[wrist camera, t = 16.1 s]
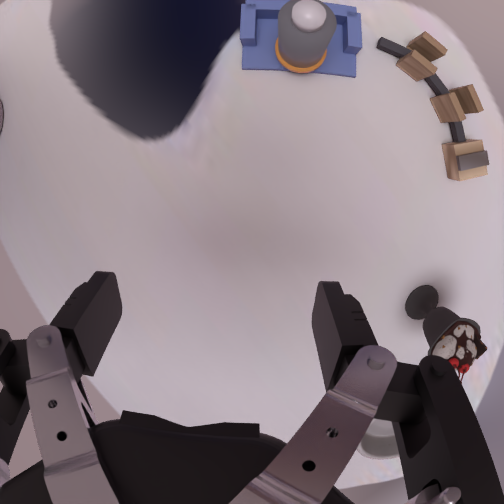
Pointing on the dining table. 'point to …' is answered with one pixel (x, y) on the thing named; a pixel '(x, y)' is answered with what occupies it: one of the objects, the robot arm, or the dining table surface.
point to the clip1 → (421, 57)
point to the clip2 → (456, 104)
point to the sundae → (446, 330)
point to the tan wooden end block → (465, 159)
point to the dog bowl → (379, 441)
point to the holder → (266, 33)
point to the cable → (432, 80)
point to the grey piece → (304, 34)
